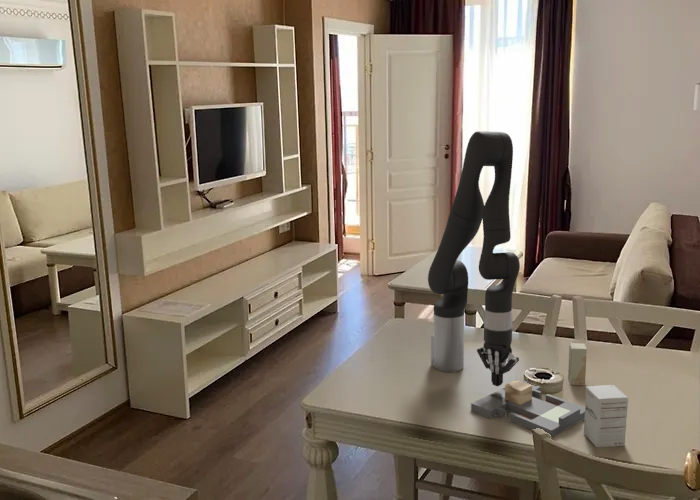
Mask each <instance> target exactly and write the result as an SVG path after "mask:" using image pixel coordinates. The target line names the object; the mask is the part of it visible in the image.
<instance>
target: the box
mask: <svg viewBox="0 0 700 500" xmlns="http://www.w3.org/2000/svg"><path fill="white" fill-rule="evenodd" d="M587 350H588V349H587V346H586V343H579V342H578V343H577V342H576V343H575V342H570V343H569V349H568V370H567V371H568V375H567V380H568V383H569V385H570V386H586V372H587V353H588V352H587Z"/></svg>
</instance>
